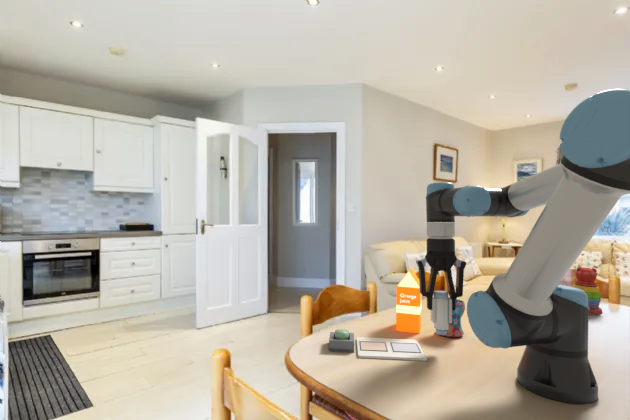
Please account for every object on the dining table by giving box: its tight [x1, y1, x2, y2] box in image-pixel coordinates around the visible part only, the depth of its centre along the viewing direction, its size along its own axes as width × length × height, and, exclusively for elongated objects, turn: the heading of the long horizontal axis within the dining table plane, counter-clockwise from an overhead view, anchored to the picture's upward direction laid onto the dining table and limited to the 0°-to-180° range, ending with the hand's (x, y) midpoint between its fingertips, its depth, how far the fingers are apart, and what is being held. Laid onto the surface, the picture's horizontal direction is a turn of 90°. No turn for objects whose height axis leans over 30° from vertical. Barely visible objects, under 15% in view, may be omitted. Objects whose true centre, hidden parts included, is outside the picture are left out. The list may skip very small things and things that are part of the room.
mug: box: [442, 298, 466, 338], centre depth 116 cm, size 12×9×11 cm
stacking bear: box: [572, 266, 603, 315], centre depth 144 cm, size 11×10×18 cm
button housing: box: [328, 331, 355, 353], centre depth 103 cm, size 7×7×3 cm
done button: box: [334, 328, 350, 340], centre depth 103 cm, size 4×4×2 cm
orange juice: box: [395, 266, 423, 334], centre depth 121 cm, size 8×9×20 cm
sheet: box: [356, 336, 428, 362], centre depth 102 cm, size 14×18×1 cm
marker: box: [433, 290, 449, 336], centre depth 100 cm, size 4×4×12 cm
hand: (441, 321), depth 100 cm, fingers closed on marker, 4 cm apart
